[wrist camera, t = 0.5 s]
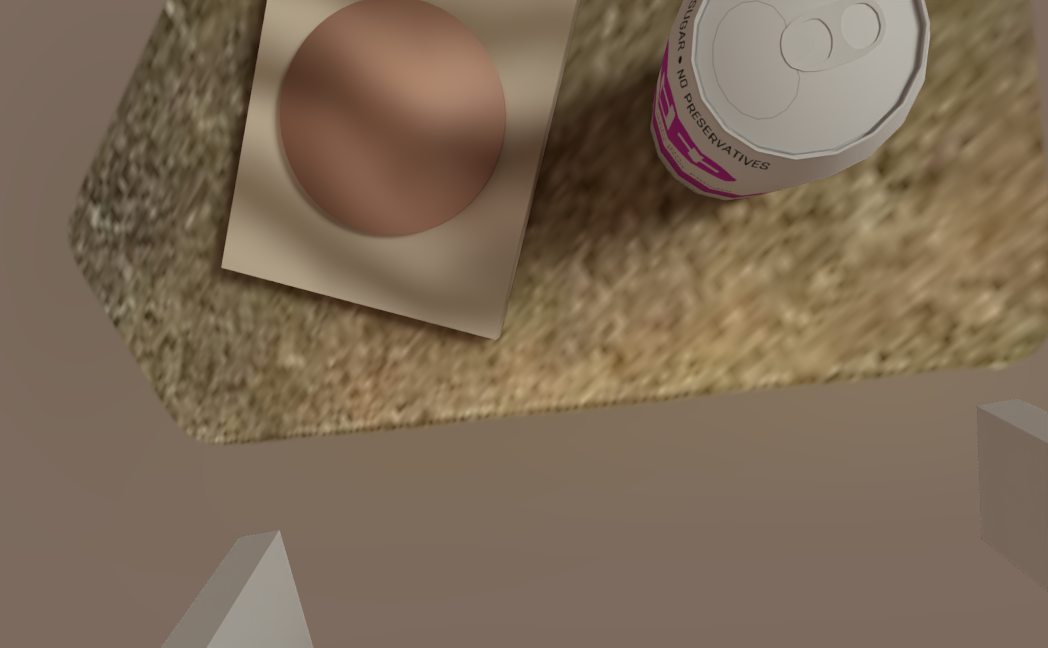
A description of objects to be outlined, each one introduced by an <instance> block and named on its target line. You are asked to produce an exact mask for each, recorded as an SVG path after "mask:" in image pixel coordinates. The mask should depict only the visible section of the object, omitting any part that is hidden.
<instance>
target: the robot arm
mask: <svg viewBox="0 0 1048 648" xmlns="http://www.w3.org/2000/svg"><path fill="white" fill-rule="evenodd" d="M977 425H978V426H977V427H978V457H979V484H980V512H981V539H982V540H983V541H984V542H986V543H987V544H988V545H990V546H991V547H992V548H993V549H994V550H996V551H997V552H998V553H1000V554H1001V555H1002V556H1003V557H1004V558H1006V559H1007V560H1008V561H1010V562H1011V563H1012V564H1013V565H1015V566H1016V567H1017V568H1018V569H1020V570H1021V571H1022V572H1023V573H1025V574H1026V575H1027V576H1028V577H1030V578H1031V579H1032V580H1033V581H1035V582H1036V583H1037V584H1038V585H1040V586H1041V587H1042V588H1043V589H1045V590H1046V591H1047V592H1048V412H1046V411H1044V410H1041V409H1039V408H1037V407H1035V406H1033V405H1031V404H1029V403H1027V402H1024V401H1022V400H1020V399H1013V400H1007V401H1002V402H996V403H991V404H986V405H979V406H977ZM161 648H313V645H312V642H311V638H310V635H309V631H308V628H307V624H306V621H305V617H304V614H303V610H302V607H301V604H300V600H299V597H298V593H297V590H296V587H295V583H294V579H293V576H292V572H291V569H290V565H289V562H288V558H287V556H286V552H285V548H284V545H283V541H282V538H281V534H280V531H279V530H277V531H271V532H266V533H260V534H254V535H249V536H243V537H239V538H238V540H237V541H236V543H235V544H234V545H233V547H232V548H231V550H230V551H229V553H228V554H227V556H226V557H225V558H224V560H223V561H222V562H221V564H220V565H219V566H218V568H217V569H216V571H215V572H214V573H213V575H212V576H211V578H210V579H209V581H208V582H207V583H206V585H205V586H204V588H203V589H202V590H201V592H200V593H199V595H198V596H197V597H196V599H195V600H194V602H193V603H192V605H191V606H190V607H189V609H188V610H187V611H186V613H185V614H184V616H183V617H182V618H181V620H180V621H179V623H178V624H177V625H176V627H175V628H174V630H173V631H172V633H171V634H170V635H169V637H168V638H167V639H166V641H165V642H164V644H163V645H162V647H161Z"/></svg>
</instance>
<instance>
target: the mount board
mask: <svg viewBox="0 0 1048 648" xmlns="http://www.w3.org/2000/svg"><path fill="white" fill-rule="evenodd" d="M580 1H581V0H267V4H266V10H265V16H264V22H263V27H262V33H261V39H260V45H259V51H258V57H257V62H256V68H255V74H254V80H253V86H252V92H251V97H250V103H249V109H248V115H247V121H246V126H245V132H244V138H243V144H242V150H241V156H240V161H239V167H238V173H237V179H236V185H235V190H234V196H233V202H232V208H231V214H230V220H229V225H228V231H227V237H226V243H225V249H224V255H223V260H222V266H221V268H224V269H228V270H232V271H236V272H240V273H243V274H247V275H251V276H255V277H259V278H262V279H266V280H270V281H274V282H278V283H281V284H285V285H289V286H293V287H297V288H300V289H304V290H308V291H312V292H316V293H319V294H323V295H327V296H331V297H335V298H338V299H342V300H346V301H350V302H353V303H357V304H361V305H365V306H369V307H372V308H376V309H380V310H384V311H388V312H391V313H395V314H399V315H403V316H407V317H410V318H414V319H418V320H422V321H426V322H429V323H433V324H437V325H441V326H445V327H448V328H452V329H456V330H460V331H464V332H467V333H471V334H475V335H479V336H483V337H486V338H490V339H494V340H496V339H498V338H499V337H500V336H501V331H502V327H503V323H504V319H505V315H506V311H507V306H508V302H509V298H510V294H511V290H512V285H513V281H514V277H515V273H516V269H517V265H518V260H519V256H520V252H521V248H522V244H523V239H524V235H525V231H526V227H527V223H528V219H529V214H530V210H531V206H532V202H533V198H534V193H535V189H536V185H537V181H538V177H539V173H540V168H541V164H542V160H543V156H544V152H545V148H546V143H547V139H548V135H549V131H550V127H551V122H552V118H553V114H554V110H555V106H556V102H557V97H558V93H559V89H560V85H561V81H562V76H563V72H564V68H565V64H566V60H567V56H568V51H569V47H570V43H571V39H572V35H573V30H574V26H575V22H576V18H577V14H578V10H579V5H580Z"/></svg>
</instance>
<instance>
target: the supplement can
mask: <svg viewBox="0 0 1048 648" xmlns="http://www.w3.org/2000/svg"><path fill="white" fill-rule="evenodd" d="M929 28H930V21H929V17H928V13H927V9H926V5H925V1H924V0H684V1H683V3H682V5H681V8H680V10H679V12H678V15H677V17H676V19H675V21H674V24H673V26H672V28H671V31H670V35H669V39H668V43H667V46H666V50H665V54H664V58H663V62H662V66H661V69H660V73H659V77H658V81H657V85H656V88H655V92H654V96H653V100H652V111H651V125H650V131H651V134H652V138H653V141H654V145H655V148H656V152H657V155H658V158H659V159H660V160H661V162H662V163H663V164H664V166H665V167H666V168H667V170H668V171H669V173H670V174H671V175H672V177H673V178H674V179H675V180H676V181H678V182H680V183H681V184H683V185H684V186H686V187H687V188H689V189H690V190H692V191H693V192H695V193H697V194H699V195H703V196H708V197H712V198H717V199H721V200H733V199H741V198H748V197H755V196H759V195H763V194H767V193H770V192H774V191H778V190H782V189H786V188H790V187H793V186H797V185H801V184H805V183H809V182H812V181H816V180H820V179H824V178H828V177H830V176H832V175H834V174H836V173H838V172H840V171H842V170H844V169H846V168H848V167H850V166H852V165H854V164H856V163H858V162H860V161H862V160H864V159H866V158H868V157H870V156H871V155H872V154H873V153H874V152H875V151H876V150H877V149H878V148H879V147H880V146H881V145H882V144H883V143H884V142H885V141H886V140H887V139H888V138H889V137H890V136H891V135H892V134H893V133H894V132H895V131H896V130H897V129H898V128H899V127H900V126H901V125H902V124H903V123H904V121H905V119H906V117H907V115H908V113H909V111H910V109H911V107H912V105H913V103H914V101H915V99H916V97H917V95H918V93H919V91H920V89H921V87H922V85H923V83H924V80H925V72H926V64H927V56H928V47H929V39H930V32H929Z"/></svg>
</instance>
